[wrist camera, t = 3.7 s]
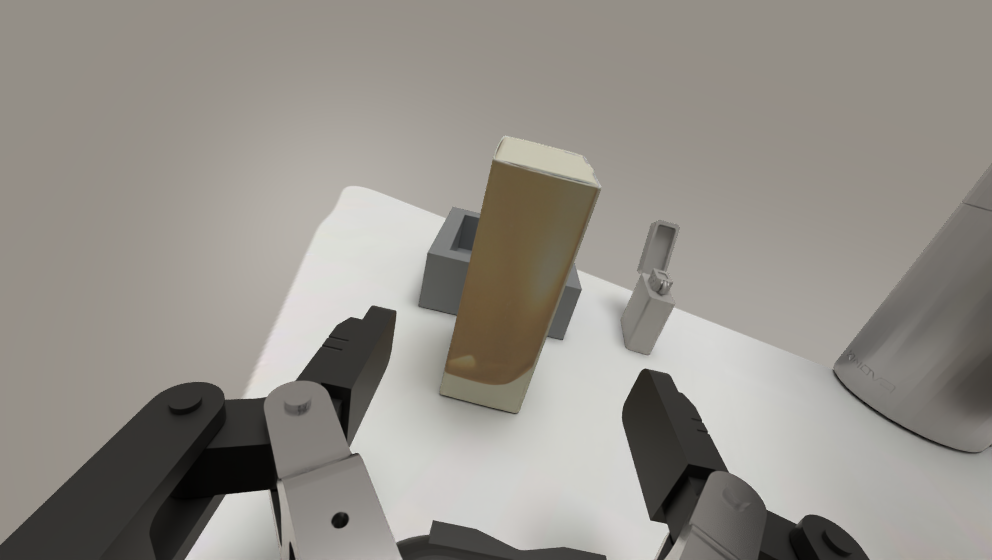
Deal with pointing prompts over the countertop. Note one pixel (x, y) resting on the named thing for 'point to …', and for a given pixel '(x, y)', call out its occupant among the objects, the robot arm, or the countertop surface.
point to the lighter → (651, 290)
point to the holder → (452, 265)
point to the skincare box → (517, 270)
